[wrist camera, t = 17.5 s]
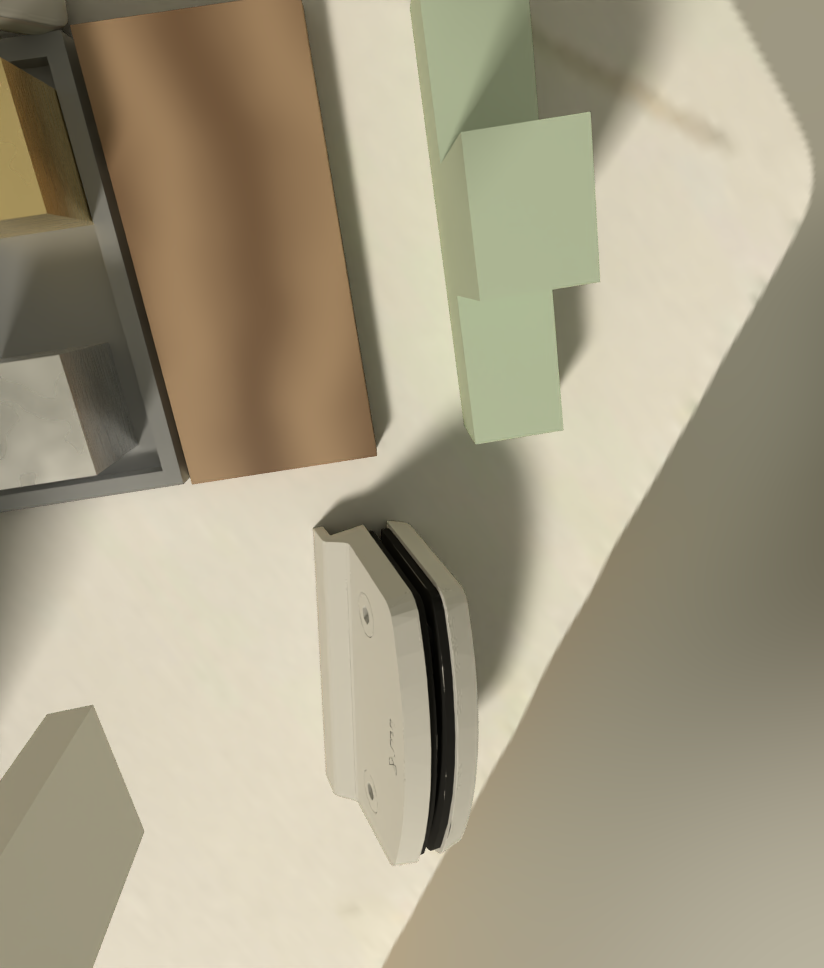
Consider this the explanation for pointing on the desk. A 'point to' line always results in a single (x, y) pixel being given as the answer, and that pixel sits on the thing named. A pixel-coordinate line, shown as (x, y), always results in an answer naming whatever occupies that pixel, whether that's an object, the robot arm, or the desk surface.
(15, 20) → the grey picture frame
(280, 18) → the deck
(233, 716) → the desk surface
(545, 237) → the stepped sage beam
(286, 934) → the desk surface
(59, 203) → the mustard yellow cube
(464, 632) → the white curved block
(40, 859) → the robot arm
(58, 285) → the tray
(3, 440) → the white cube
